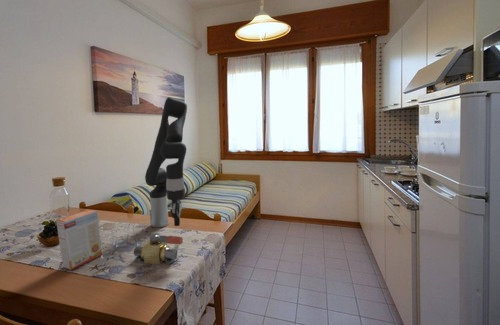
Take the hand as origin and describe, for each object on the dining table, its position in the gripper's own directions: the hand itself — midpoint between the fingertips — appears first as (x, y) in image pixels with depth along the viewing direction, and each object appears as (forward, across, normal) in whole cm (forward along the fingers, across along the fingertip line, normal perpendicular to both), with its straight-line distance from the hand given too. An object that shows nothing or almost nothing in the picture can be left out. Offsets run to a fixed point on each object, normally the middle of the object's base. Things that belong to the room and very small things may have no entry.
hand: (177, 225), depth 119 cm
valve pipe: (+13, +5, -8) cm, 17 cm away
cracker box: (+14, +4, -40) cm, 42 cm away
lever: (+5, +7, -4) cm, 9 cm away
